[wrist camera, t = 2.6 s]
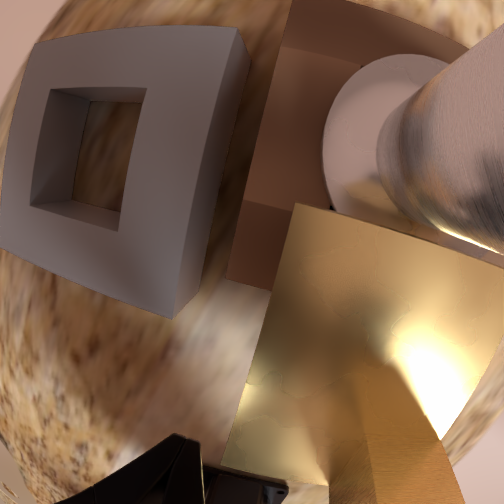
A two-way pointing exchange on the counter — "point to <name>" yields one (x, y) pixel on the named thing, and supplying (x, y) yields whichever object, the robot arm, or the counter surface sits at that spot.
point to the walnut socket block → (312, 119)
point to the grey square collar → (140, 165)
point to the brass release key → (366, 361)
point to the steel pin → (423, 147)
